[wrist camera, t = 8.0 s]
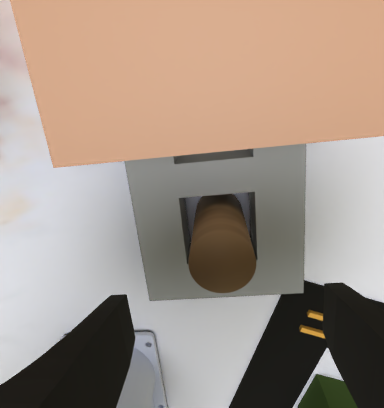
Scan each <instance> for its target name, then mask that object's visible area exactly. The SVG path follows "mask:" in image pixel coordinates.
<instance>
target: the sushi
mask: <svg viewBox="0 0 384 408" xmlns="http://www.w3.org/2000/svg"><path fill="white" fill-rule="evenodd" d="M366 299H368V298H366ZM368 300H369V301H371V302H372V303H374V304H375V305H376V306H378V307H379V308H381V309H382V310H384V303H382V302H378V301H375V300H371V299H368ZM323 306H324V286H322V285H318V284H315V283H311V282H308V281H304V291H303V293H294V294H282V295H281V297H280V299H279V301H278V303H277V306H276V308H275V310H274V312H273V314H272V316H271V318H270V321H269V323H268V325H267V327H266V329H265V331H264V333H263V336H262V338H261V340H260V342H259V344H258V346H257V348H256V351H255V353H254V355H253V357H252V359H251V361H250V363H249V366H248V368H247V370H246V372H245V374H244V376H243V378H242V381H241V383H240V385H239V387H238V389H237V391H236V394H235V396H234V398H233V400H232V402H231V404H230V406H229V408H292V407H293V406H294V404H295V402H296V400H297V399H298V397H299V395H300V393H301V392H302V390H303V388H304V386H305V385H306V383H307V381H308V379H309V378H310V376H311V374H312V372H313V371H314V369H315V367H316V365H317V364H318V362H319V360H320V358H321V357H322V355H323V353H324V351H325V350H326V348H329V347H328V345H327V342H326V339H325V336H324V334H323V331H322V329H323ZM298 408H358V407H357V405H356V403H355V401H354V400H353V398H352V396H351V394H350V392H349V390H348V388H347V386H346V384H345V382H344V381H341V380H337V379H334V378H330V377H326V376H323V375H319V374H316V376H315V377H314V379H313V381H312V383H311V384H310V386H309V388H308V389H307V391H306V393H305V395H304V396H303V398H302V400H301V402H300V403H299V405H298Z"/></svg>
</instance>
